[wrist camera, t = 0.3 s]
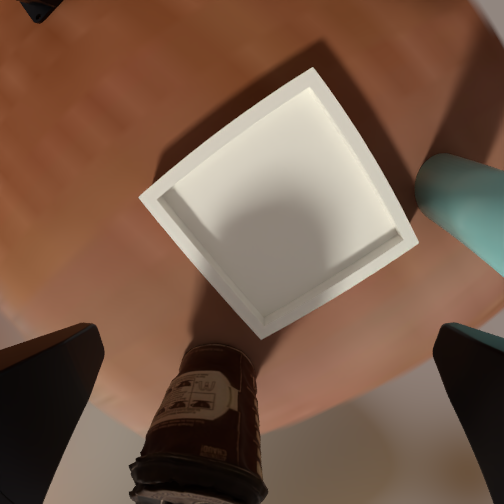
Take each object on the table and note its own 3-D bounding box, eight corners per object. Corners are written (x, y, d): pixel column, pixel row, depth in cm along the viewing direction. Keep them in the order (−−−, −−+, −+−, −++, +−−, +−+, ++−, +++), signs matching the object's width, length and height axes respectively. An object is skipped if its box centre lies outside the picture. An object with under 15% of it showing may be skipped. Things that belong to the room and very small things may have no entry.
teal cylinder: (402, 176, 19) (528, 248, 8) (454, 140, 18) (592, 181, 6) (431, 234, 20) (537, 334, 9) (478, 199, 19) (597, 271, 8)
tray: (150, 188, 20) (138, 197, 18) (307, 72, 17) (312, 67, 15) (261, 321, 23) (261, 339, 21) (405, 231, 20) (419, 243, 18)
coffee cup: (145, 357, 25) (92, 488, 13) (218, 310, 23) (183, 471, 11) (214, 413, 28) (196, 536, 16) (288, 378, 26) (295, 522, 14)
